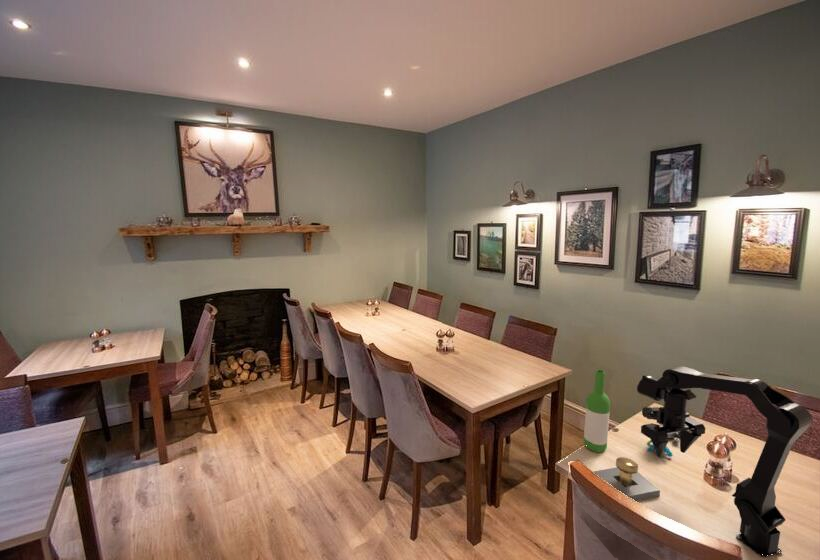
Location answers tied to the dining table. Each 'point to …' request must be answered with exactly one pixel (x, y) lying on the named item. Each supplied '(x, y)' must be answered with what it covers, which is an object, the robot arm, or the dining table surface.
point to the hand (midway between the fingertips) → (670, 454)
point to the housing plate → (638, 489)
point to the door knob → (626, 470)
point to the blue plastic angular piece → (665, 448)
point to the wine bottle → (597, 416)
